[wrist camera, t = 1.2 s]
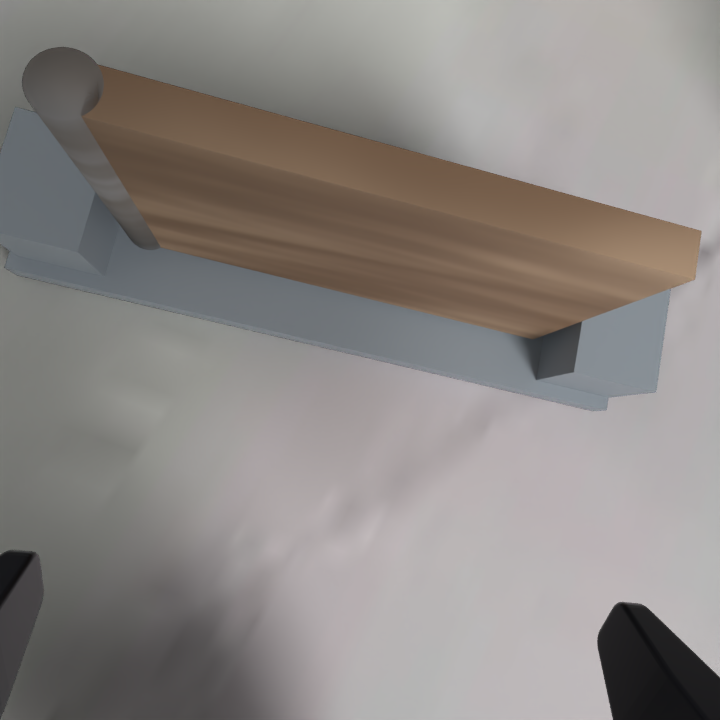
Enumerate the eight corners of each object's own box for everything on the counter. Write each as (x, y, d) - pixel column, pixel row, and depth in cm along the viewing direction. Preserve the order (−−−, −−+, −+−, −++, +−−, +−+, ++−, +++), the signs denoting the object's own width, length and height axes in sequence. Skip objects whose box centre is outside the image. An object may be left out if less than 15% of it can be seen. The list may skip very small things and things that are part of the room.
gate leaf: (532, 344, 23) (693, 287, 14) (121, 243, 21) (12, 107, 12) (539, 304, 23) (702, 222, 14) (133, 200, 22) (35, 37, 13)
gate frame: (593, 411, 25) (653, 406, 21) (16, 274, 22) (-40, 240, 18) (611, 293, 25) (674, 266, 21) (55, 149, 23) (10, 89, 19)
